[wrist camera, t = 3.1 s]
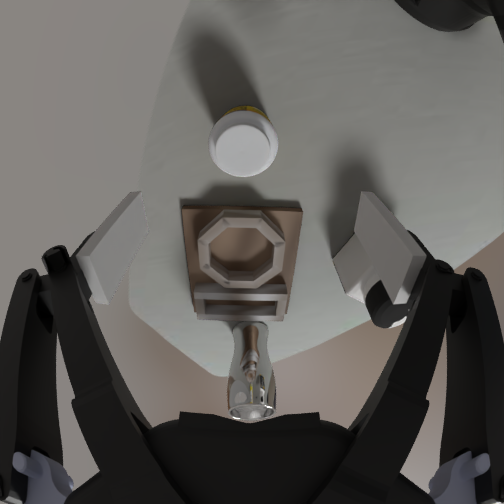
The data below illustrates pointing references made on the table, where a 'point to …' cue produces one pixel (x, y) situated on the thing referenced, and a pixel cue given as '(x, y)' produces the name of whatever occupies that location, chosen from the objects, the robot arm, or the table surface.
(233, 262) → the socket board
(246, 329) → the beer glass
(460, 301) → the robot arm
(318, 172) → the table surface
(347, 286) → the medicine bottle
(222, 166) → the supplement bottle
